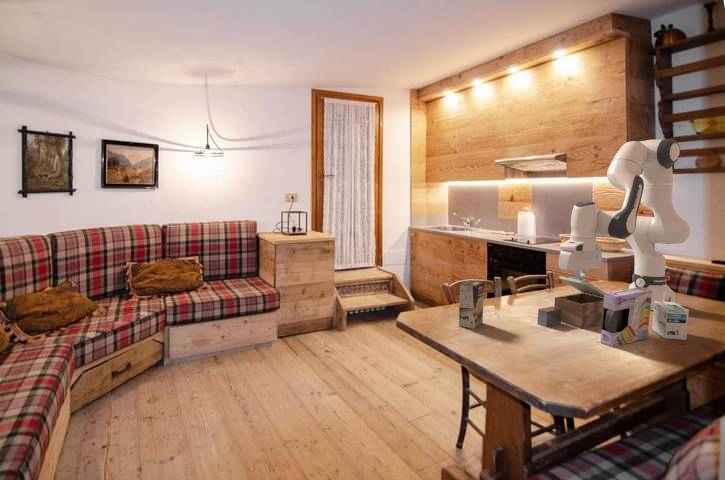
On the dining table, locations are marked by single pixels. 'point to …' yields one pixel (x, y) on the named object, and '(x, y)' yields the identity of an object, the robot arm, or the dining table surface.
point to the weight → (549, 316)
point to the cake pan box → (625, 316)
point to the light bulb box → (670, 320)
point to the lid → (583, 286)
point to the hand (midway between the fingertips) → (579, 280)
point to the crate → (580, 309)
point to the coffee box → (471, 304)
